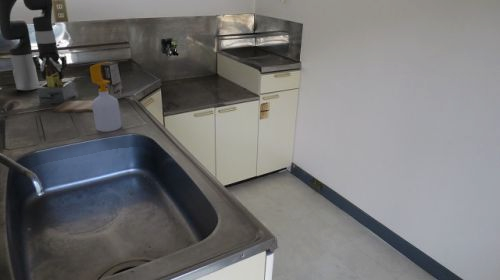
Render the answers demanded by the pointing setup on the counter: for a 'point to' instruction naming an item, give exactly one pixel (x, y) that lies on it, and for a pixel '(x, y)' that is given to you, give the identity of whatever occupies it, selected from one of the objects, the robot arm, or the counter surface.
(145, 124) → the counter surface
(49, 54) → the robot arm
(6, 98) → the counter surface
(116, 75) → the coffee box
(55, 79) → the sauce bottle
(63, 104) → the walnut board
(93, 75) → the spray bottle
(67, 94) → the grey open box
